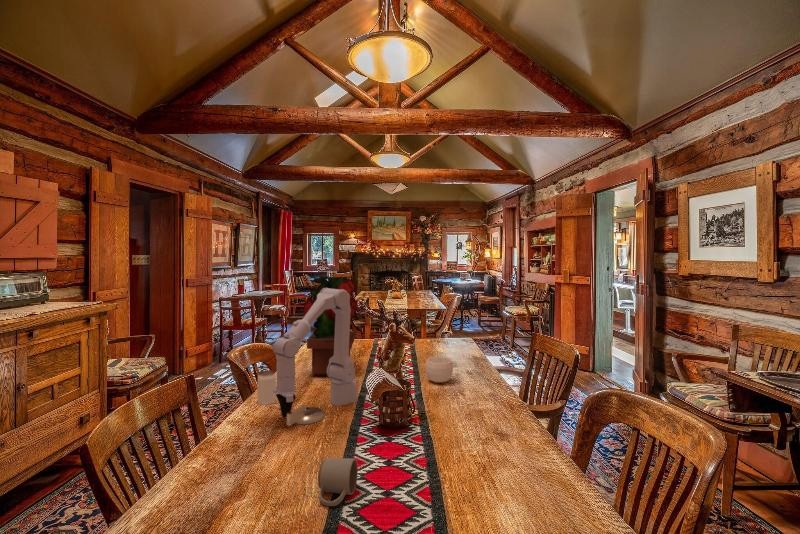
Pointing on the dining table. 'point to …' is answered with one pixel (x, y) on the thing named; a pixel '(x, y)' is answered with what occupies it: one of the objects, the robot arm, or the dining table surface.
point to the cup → (439, 369)
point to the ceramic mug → (337, 478)
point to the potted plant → (327, 323)
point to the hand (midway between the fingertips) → (285, 416)
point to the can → (266, 387)
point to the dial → (304, 415)
